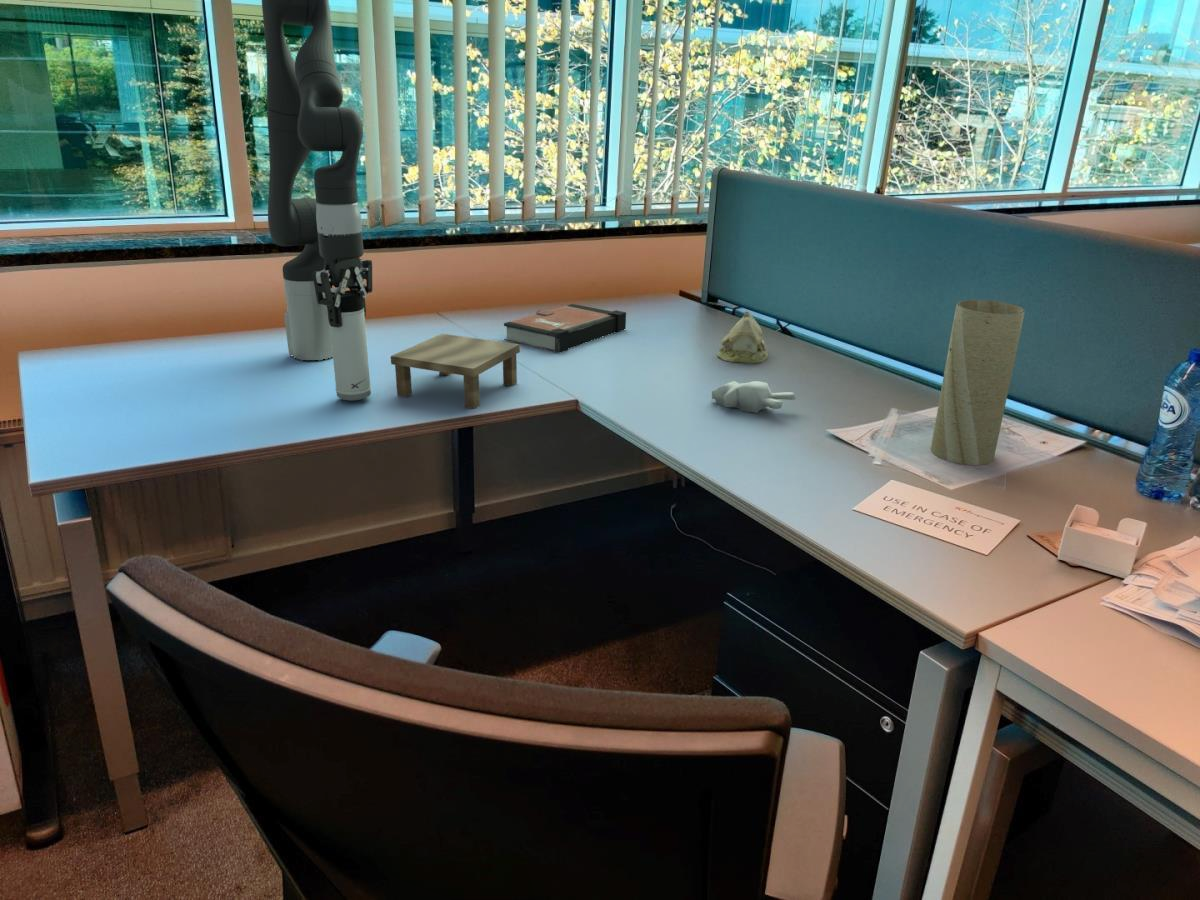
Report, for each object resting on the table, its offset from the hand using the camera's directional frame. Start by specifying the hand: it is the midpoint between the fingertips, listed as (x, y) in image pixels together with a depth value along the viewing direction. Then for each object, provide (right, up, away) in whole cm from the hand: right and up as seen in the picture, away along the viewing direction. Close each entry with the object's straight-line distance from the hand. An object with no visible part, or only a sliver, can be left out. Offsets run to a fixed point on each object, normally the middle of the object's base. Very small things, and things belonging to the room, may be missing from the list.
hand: (348, 322), depth 159 cm
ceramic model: (+79, -2, +39) cm, 88 cm away
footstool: (+18, -11, +13) cm, 25 cm away
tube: (+107, -24, -13) cm, 110 cm away
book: (+38, +4, +53) cm, 65 cm away
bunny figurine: (+75, -16, +6) cm, 77 cm away
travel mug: (0, -13, +6) cm, 14 cm away
